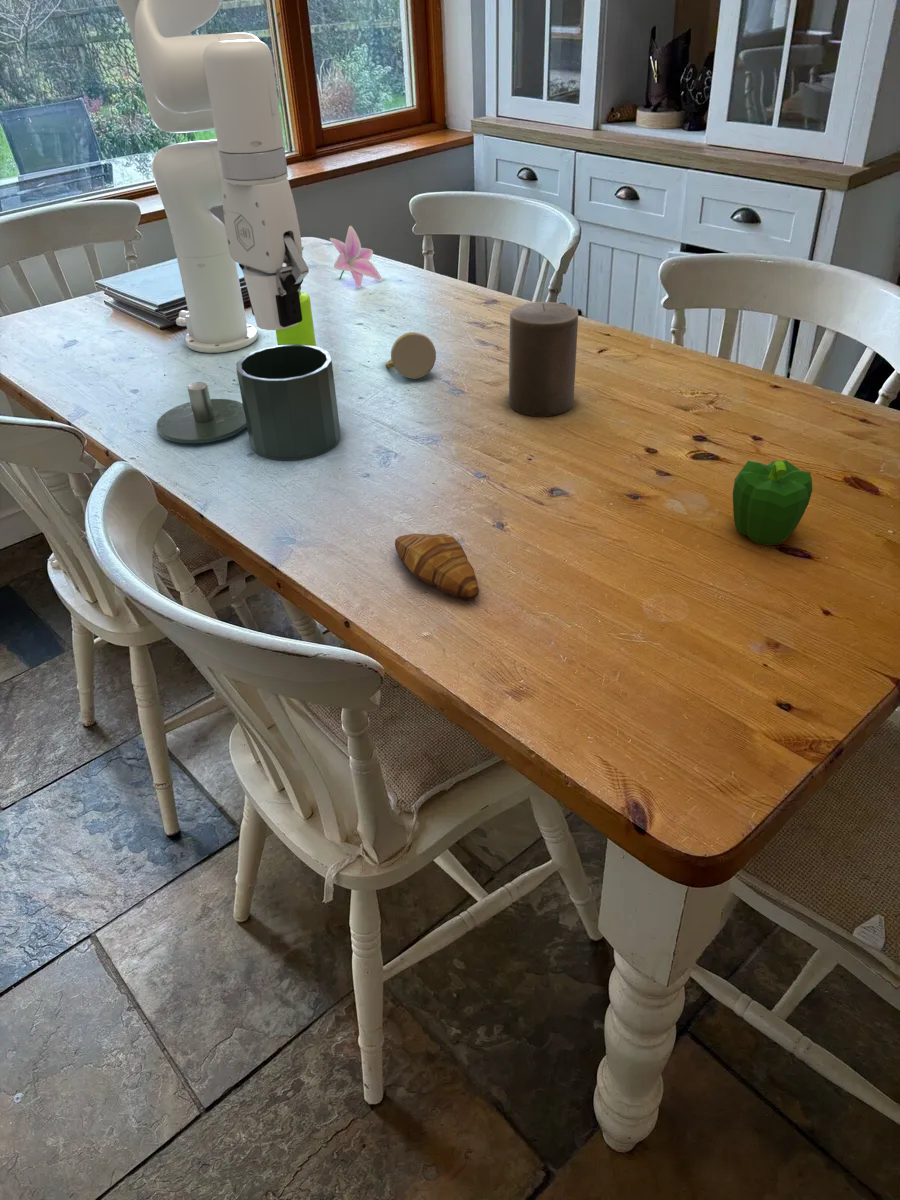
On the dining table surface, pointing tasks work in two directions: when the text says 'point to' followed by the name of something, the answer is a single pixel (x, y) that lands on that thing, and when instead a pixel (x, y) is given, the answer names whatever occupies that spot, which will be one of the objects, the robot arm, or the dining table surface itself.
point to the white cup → (264, 297)
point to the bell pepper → (770, 500)
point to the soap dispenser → (299, 326)
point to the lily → (354, 258)
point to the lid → (202, 418)
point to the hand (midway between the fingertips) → (277, 317)
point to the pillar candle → (542, 358)
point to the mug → (412, 355)
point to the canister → (289, 401)
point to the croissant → (439, 563)
